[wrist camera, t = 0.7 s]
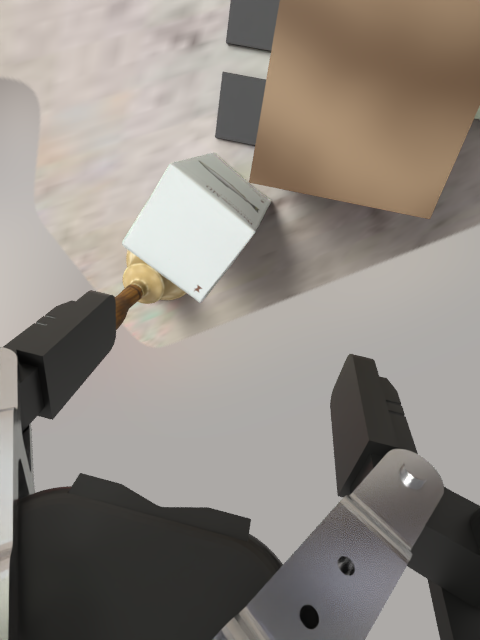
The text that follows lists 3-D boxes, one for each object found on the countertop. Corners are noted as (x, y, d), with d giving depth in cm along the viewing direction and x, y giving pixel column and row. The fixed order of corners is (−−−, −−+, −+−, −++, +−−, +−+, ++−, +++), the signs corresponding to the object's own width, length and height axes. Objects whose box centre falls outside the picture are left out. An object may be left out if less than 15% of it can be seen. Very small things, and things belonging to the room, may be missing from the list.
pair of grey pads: (236, -40, 26) (235, -42, 26) (288, -31, 26) (288, -33, 26) (215, 137, 32) (215, 137, 32) (258, 145, 32) (257, 145, 32)
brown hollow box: (311, -46, 25) (318, -232, 12) (449, -24, 25) (610, -193, 12) (271, 160, 32) (249, 182, 19) (378, 181, 32) (429, 219, 19)
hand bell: (140, 302, 42) (61, 387, 29) (116, 236, 39) (12, 296, 25) (204, 295, 40) (153, 381, 27) (186, 224, 37) (115, 282, 23)
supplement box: (274, 200, 34) (260, 234, 23) (229, 255, 38) (199, 307, 27) (214, 148, 33) (169, 159, 22) (174, 211, 36) (118, 246, 25)
